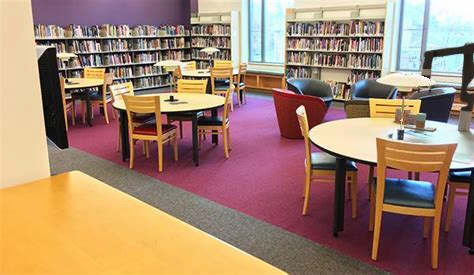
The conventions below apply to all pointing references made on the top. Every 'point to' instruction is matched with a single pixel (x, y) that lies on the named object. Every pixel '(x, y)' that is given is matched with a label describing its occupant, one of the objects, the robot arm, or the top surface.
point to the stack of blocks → (406, 116)
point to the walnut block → (420, 124)
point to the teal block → (421, 117)
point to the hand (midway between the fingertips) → (424, 93)
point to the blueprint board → (419, 128)
